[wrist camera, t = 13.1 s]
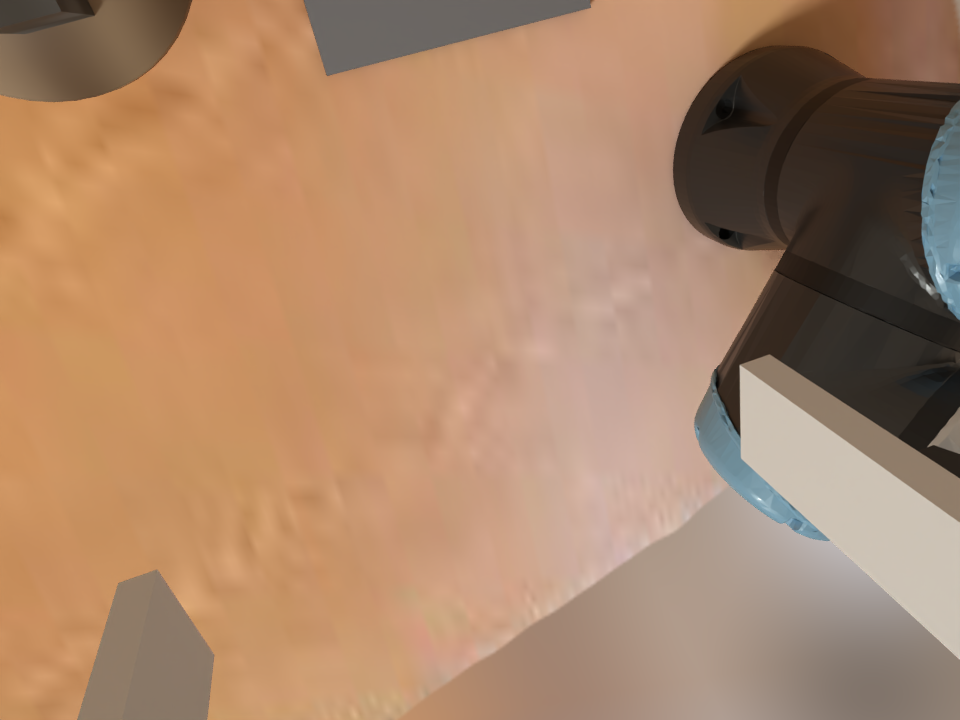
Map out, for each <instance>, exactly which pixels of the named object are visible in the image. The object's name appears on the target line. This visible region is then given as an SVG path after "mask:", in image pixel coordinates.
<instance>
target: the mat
mask: <svg viewBox="0 0 960 720" xmlns="http://www.w3.org/2000/svg"><path fill="white" fill-rule="evenodd" d="M304 3H305V6H306V9H307V13H308V16H309V19H310V22H311V26H312V29H313V32H314V35H315V39H316V42H317V45H318V48H319V52H320V55H321V58H322V62H323V65H324V68H325V71H326V75H327V76H328V75H332V74H336V73H340V72H344V71H348V70H352V69H355V68H359V67H363V66H367V65H371V64H375V63H379V62H383V61H386V60H390V59H394V58H398V57H402V56H406V55H410V54H414V53H417V52H421V51H425V50H429V49H433V48H437V47H441V46H445V45H448V44H452V43H456V42H460V41H464V40H468V39H472V38H475V37H479V36H483V35H487V34H491V33H495V32H499V31H503V30H506V29H510V28H514V27H518V26H522V25H526V24H530V23H534V22H537V21H541V20H545V19H549V18H553V17H557V16H561V15H564V14H568V13H572V12H576V11H580V10H584V9H588V8H591V5H590V0H304Z"/></svg>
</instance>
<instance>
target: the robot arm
mask: <svg viewBox="0 0 960 720" xmlns="http://www.w3.org/2000/svg"><path fill="white" fill-rule="evenodd" d="M673 178H674V186H675V192H676V196H677V199H678V202H679V205H680V207H681V209H682V211H683V213H684V215H685V216H686V218H687V220H688V221H689V222H690V223H691V224H692V226H693V227H694V228H695V229H697V230H698V231H699V232H700V233H702V234H703V235H705V236H706V237H708V238H710V239H712V240H715V241H717V242H719V243H721V244H723V245H726V246H728V247H731V248H736V249H740V250H786V251H785V252H784V254H783V256H782V258H781V260H780V261H779V263H778V265H777V267H776V268H775V270H774V271H773V273H772V275H771V276H770V278H769V280H768V282H767V284H766V285H765V287H764V289H763V291H762V292H761V294H760V296H759V298H758V300H757V301H756V303H755V305H754V307H753V309H752V310H751V312H750V314H749V316H748V318H747V319H746V321H745V323H744V325H743V326H742V328H741V330H740V332H739V333H738V335H737V337H736V338H735V340H734V342H733V344H732V345H731V347H730V349H729V350H728V352H727V354H726V356H725V357H724V359H723V361H722V362H721V364H720V365H719V366H718V367H717V368H716V369H715V370H714V372H713V373H712V376H711V382H710V383H711V384H710V386H709V388H708V390H707V392H706V394H705V396H704V398H703V400H702V402H701V404H700V406H699V408H698V410H697V413H696V416H695V422H694V428H695V433H696V437H697V439H698V441H699V446H700V448H701V450H702V452H703V454H704V455H705V457H706V458H707V460H708V461H709V463H710V464H711V465H712V467H713V468H714V469H715V470H716V471H717V473H718V474H719V475H720V476H721V477H722V478H723V479H724V480H725V481H726V482H727V483H728V484H729V485H730V486H731V487H732V488H733V489H734V490H735V491H736V492H737V493H738V494H740V495H741V496H742V497H743V498H744V499H745V500H747V501H748V502H749V503H750V504H752V505H753V506H754V507H755V508H757V509H758V510H760V511H761V512H763V513H764V514H765V515H767V516H768V517H770V518H771V519H773V520H775V521H776V522H778V523H786V524H787V525H789V526H790V527H791V528H792V529H793V530H794V531H795V532H797V533H799V534H801V535H804V536H806V537H809V538H812V539H817V540H823V541H832V543H834V544H835V545H836V546H837V547H838V548H839V549H840V550H841V551H842V552H843V553H845V554H846V555H847V556H848V557H849V558H850V559H851V560H852V561H853V562H854V563H855V564H856V565H857V566H859V567H860V568H861V569H862V570H863V571H864V572H865V573H866V574H868V576H869V577H871V578H872V579H873V580H874V581H875V582H876V583H877V584H878V585H879V586H880V587H882V588H883V589H884V590H885V591H886V592H887V593H888V594H889V595H890V596H891V597H892V598H893V599H895V600H896V601H897V602H898V603H899V604H900V605H901V606H902V607H903V608H904V609H905V610H907V611H908V612H909V613H910V614H911V615H912V616H913V617H914V618H915V619H916V620H917V621H918V622H920V623H921V624H922V625H923V626H924V627H925V628H926V629H927V630H928V631H929V632H930V633H931V634H933V635H934V636H935V637H936V638H937V639H938V640H939V641H940V642H941V643H942V644H943V645H944V646H946V647H947V648H948V649H949V650H950V651H951V652H952V653H953V654H954V655H955V656H957V657H958V658H959V659H960V84H956V83H940V82H924V81H907V80H891V79H873V78H866V77H864V76H862V75H861V74H859V73H858V72H856V71H854V70H853V69H851V68H849V67H848V66H846V65H844V64H843V63H841V62H839V61H838V60H836V59H835V58H833V57H832V56H830V55H828V54H826V53H824V52H822V51H819V50H816V49H813V48H809V47H803V46H769V47H763V48H759V49H756V50H753V51H750V52H748V53H746V54H744V55H742V56H740V57H738V58H736V59H735V60H733V61H732V62H730V63H729V64H727V65H726V66H725V67H724V68H722V69H721V70H720V71H719V72H718V73H717V74H716V75H714V76H713V78H712V79H711V80H710V81H709V82H708V83H707V84H706V85H705V86H704V88H703V89H702V90H701V92H700V93H699V94H698V96H697V97H696V99H695V100H694V102H693V104H692V105H691V107H690V109H689V111H688V113H687V115H686V117H685V119H684V122H683V124H682V127H681V129H680V132H679V136H678V139H677V143H676V148H675V154H674V162H673ZM213 662H214V654H213V652H212V651H211V649H210V648H209V646H208V645H207V643H206V642H205V640H204V639H203V637H202V636H201V634H200V633H199V631H198V630H197V628H196V627H195V625H194V624H193V622H192V621H191V619H190V618H189V616H188V615H187V613H186V612H185V610H184V609H183V607H182V606H181V604H180V603H179V601H178V600H177V598H176V597H175V595H174V594H173V592H172V591H171V589H170V588H169V586H168V585H167V583H166V582H165V580H164V579H163V577H162V576H161V574H160V573H159V571H158V570H154V571H152V572H149V573H146V574H143V575H140V576H137V577H134V578H132V579H129V580H126V581H123V582H120V583H118V586H117V589H116V593H115V596H114V599H113V603H112V606H111V609H110V613H109V616H108V619H107V623H106V626H105V629H104V633H103V636H102V639H101V643H100V646H99V649H98V653H97V656H96V659H95V662H94V666H93V669H92V672H91V676H90V679H89V682H88V686H87V689H86V692H85V696H84V699H83V702H82V706H81V709H80V712H79V716H78V719H77V720H207V717H208V708H209V699H210V689H211V680H212V671H213Z"/></svg>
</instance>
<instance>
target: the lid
mask: <svg viewBox="0 0 960 720" xmlns="http://www.w3.org/2000/svg"><path fill="white" fill-rule="evenodd" d="M191 2H192V0H0V95H3V96H7V97H12V98H18V99H24V100H29V101H44V102H63V101H77V100H81V99H86V98H91V97H96V96H99V95H103V94H106V93H108V92H111V91H114V90H117V89H119V88H122V87H124V86H126V85H128V84H129V83H131V82H133V81H135V80H137V79H139V78H140V77H141V76H143V75H144V74H145V73H147V72H148V71H149V70H150V69H152V68H153V67H154V66H155V65H156V64H157V63H158V62H159V61H160V60H161V59H162V58H163V57H164V56H165V55H166V54H167V52H168V51H169V49H170V48H171V46H172V45H173V43H174V42H175V41H176V39H177V38H178V36H179V34H180V32H181V29H182V27H183V25H184V23H185V21H186V19H187V16H188V12H189V9H190V6H191Z"/></svg>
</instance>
